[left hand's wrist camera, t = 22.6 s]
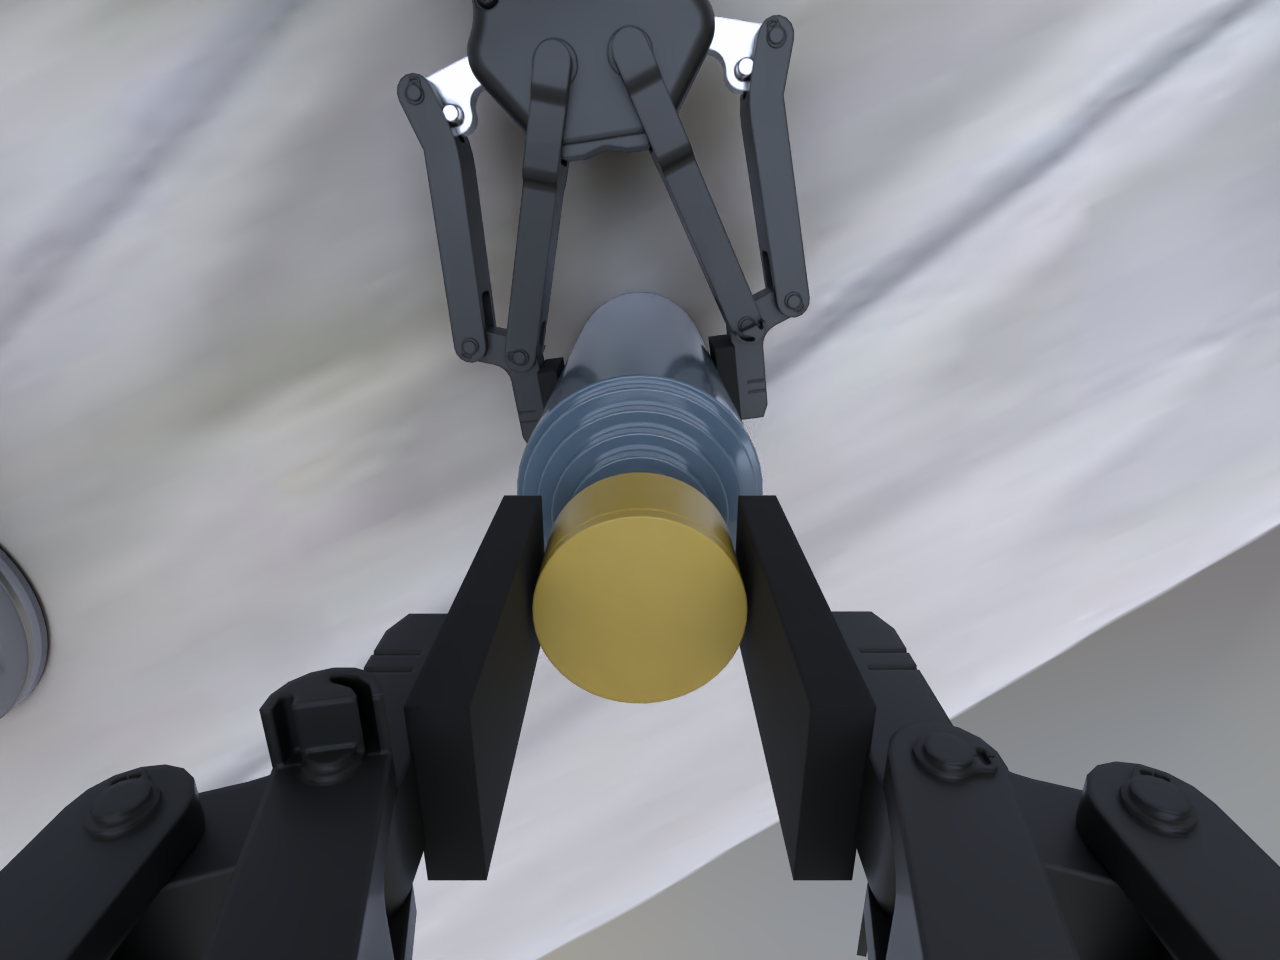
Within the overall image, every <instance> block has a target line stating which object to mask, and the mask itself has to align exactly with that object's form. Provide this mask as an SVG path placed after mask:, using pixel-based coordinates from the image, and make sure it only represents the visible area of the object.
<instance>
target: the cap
mask: <svg viewBox="0 0 1280 960" xmlns="http://www.w3.org/2000/svg"><path fill="white" fill-rule="evenodd" d="M747 612H748V606H747V595H746V591H745V587H744V583H743V579H742V576H741V572H740V569H739V565H738V561H737V558H736V554H735V551H734V547H733V543H732V540H731V536H730V533H729V530H728V528H727V525H726V523H725V521H724V519H723V517H722V516H721V514H720V512H719V511H718V510H717V509H716V507H715V506H714V505H713V503H712V502H711V501H709V500H708V499H707V498H706V497H705V496H704V495H703V494H702V493H700V492H699V491H698V490H696V489H695V488H693V487H692V486H690V485H688V484H686V483H684V482H682V481H680V480H677V479H675V478H672V477H669V476H665V475H661V474H654V473H640V472H633V473H625V474H619V475H615V476H611V477H608V478H605V479H603V480H600V481H597V482H596V483H594V484H592V485H590V486H588V487H586V488H585V489H584V490H582V491H581V492H579V493H578V494H577V495H576V496H575V497H574V498H572V499H571V500H570V501H569V502H568V503H567V505H566V506H565V507H564V508H563V510H562V511H561V512H560V514H559V516H558V517H557V519H556V521H555V523H554V525H553V527H552V530H551V532H550V536H549V540H548V543H547V547H546V550H545V554H544V558H543V561H542V565H541V568H540V572H539V576H538V579H537V583H536V587H535V591H534V594H533V604H532V614H533V623H534V628H535V632H536V635H537V638H538V640H539V643H540V645H541V647H542V649H543V651H544V653H545V654H546V656H547V657H548V659H549V660H550V661H551V663H552V664H553V665H554V666H555V667H556V668H557V670H558V671H559V672H560V673H561V674H562V675H564V676H565V677H566V678H567V679H569V680H570V681H571V682H572V683H574V684H576V685H577V686H579V687H580V688H582V689H584V690H586V691H588V692H590V693H592V694H594V695H597V696H600V697H603V698H606V699H610V700H614V701H619V702H627V703H653V702H661V701H665V700H670V699H674V698H677V697H680V696H683V695H685V694H688V693H690V692H692V691H694V690H696V689H698V688H700V687H701V686H703V685H704V684H706V683H708V682H709V681H710V680H711V679H713V678H714V677H715V676H716V675H718V674H719V672H720V671H721V670H722V669H723V668H724V667H725V666H726V665H727V664H728V662H729V661H730V660H731V658H732V657H733V656H734V654H735V652H736V650H737V649H738V647H739V645H740V643H741V640H742V637H743V635H744V632H745V627H746V623H747Z"/></svg>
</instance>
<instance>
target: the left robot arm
mask: <svg viewBox="0 0 1280 960" xmlns="http://www.w3.org/2000/svg"><path fill="white" fill-rule="evenodd" d="M544 554H545V550H544V530H543V511H542V496H504V497H503V499H502V501H501V503H500V505H499V507H498V510H497V512H496V514H495V516H494V518H493V520H492V522H491V524H490V526H489V528H488V531H487V533H486V535H485V537H484V539H483V541H482V543H481V545H480V547H479V549H478V551H477V554H476V556H475V558H474V560H473V562H472V564H471V566H470V568H469V570H468V572H467V575H466V577H465V579H464V581H463V583H462V585H461V587H460V589H459V591H458V593H457V595H456V598H455V600H454V602H453V604H452V606H451V608H450V610H449V612H448V614H408V615H407V616H405V617H404V618H403V619H401V620H400V621H399V622H397V623H396V624H395V625H394V626H392V627H391V628H390V629H388V630H387V631H386V632H385V634H384V635H383V637H382V639H381V640H380V642H379V644H378V645H377V647H376V649H375V650H374V655H371V657H370V659H369V660H368V662H367V664H366V665H365V667H364V670H361V669H358V668H330V669H325V670H321V671H316V672H311V673H309V674H306V675H304V676H302V677H299V678H297V679H295V680H292V681H290V682H288V683H286V684H285V685H284V686H282V687H281V688H279V689H278V690H277V691H275V692H274V693H272V694H271V695H270V696H269V697H268V699H267V700H266V701H265V703H264V704H263V705H262V707H261V708H260V709H259V710H260V714H261V719H262V723H263V728H264V732H265V736H266V741H267V745H268V749H269V754H270V758H271V762H272V767H273V769H272V772H271V774H270V775H269V776H266V777H262V778H259V779H256V780H252V781H249V782H245V783H241V784H236V785H232V786H228V787H223V788H219V789H215V790H210V791H206V792H202V793H198V791H197V788H196V784H195V780H194V778H193V777H192V776H191V775H190V774H189V773H188V772H187V771H186V770H185V769H184V768H179V767H175V766H170V765H156V766H147V767H140V768H137V769H134V770H130V771H127V772H124V773H121V774H118V775H115V776H113V777H111V778H109V779H107V780H105V781H103V782H101V783H99V784H97V785H95V786H94V787H92V788H90V789H88V790H87V791H85V792H84V793H83V794H81V795H80V796H79V797H78V798H76V799H75V800H74V801H73V802H71V803H70V804H69V805H67V806H66V807H65V808H64V809H63V810H62V811H61V812H60V813H59V814H58V815H57V816H56V817H55V818H54V819H53V820H52V821H51V822H50V823H49V824H48V825H47V826H46V827H45V828H44V829H43V830H42V831H41V832H40V833H39V834H38V835H37V836H36V837H35V838H34V839H33V840H32V841H31V842H30V843H29V844H28V845H27V846H26V847H25V848H24V849H23V850H22V851H21V852H20V853H18V854H17V855H16V856H15V857H14V858H13V859H12V860H11V861H10V862H9V863H8V864H7V865H6V866H5V867H4V868H3V869H2V870H1V871H0V960H412V953H413V943H414V933H415V922H416V904H415V897H414V891H413V881H414V878H415V875H416V872H417V869H418V866H419V863H420V860H421V857H422V854H423V851H424V855H425V863H426V870H427V877H428V880H487V876H488V872H489V867H490V863H491V859H492V854H493V850H494V845H495V841H496V837H497V832H498V828H499V824H500V819H501V815H502V811H503V806H504V802H505V797H506V793H507V789H508V784H509V780H510V776H511V771H512V767H513V763H514V758H515V754H516V749H517V745H518V741H519V736H520V732H521V728H522V723H523V719H524V715H525V710H526V706H527V702H528V697H529V693H530V688H531V684H532V680H533V675H534V671H535V667H536V662H537V658H538V654H539V649H540V643H539V640H538V638H537V635H536V632H535V628H534V623H533V614H532V604H533V594H534V591H535V587H536V583H537V579H538V576H539V572H540V568H541V565H542V561H543V558H544ZM735 554H736V558H737V561H738V565H739V569H740V572H741V576H742V579H743V583H744V587H745V591H746V595H747V606H748V612H747V623H746V627H745V632H744V635H743V637H742V640H741V643H740V649H741V654H742V658H743V662H744V667H745V671H746V675H747V680H748V684H749V688H750V693H751V697H752V702H753V706H754V710H755V715H756V719H757V723H758V728H759V732H760V736H761V741H762V745H763V749H764V754H765V758H766V763H767V767H768V771H769V776H770V780H771V784H772V789H773V793H774V797H775V802H776V806H777V811H778V815H779V819H780V824H781V828H782V832H783V837H784V841H785V845H786V850H787V854H788V859H789V863H790V867H791V872H792V876H793V880H852V877H853V869H854V863H855V856H856V848H857V850H858V853H859V856H860V859H861V862H862V865H863V868H864V871H865V874H866V877H867V880H868V884H867V891H866V897H865V904H864V910H863V917H862V923H861V930H860V936H859V943H858V950H857V955H860V956H865V957H866V954H867V952H868V960H1280V867H1279V866H1278V865H1277V864H1276V863H1275V862H1274V861H1273V860H1272V859H1271V858H1270V857H1269V856H1268V855H1267V854H1266V853H1265V852H1264V851H1263V850H1262V849H1261V848H1260V847H1259V846H1258V845H1257V844H1256V843H1255V842H1254V841H1253V840H1252V839H1251V838H1250V837H1249V836H1248V835H1247V834H1246V833H1245V832H1244V831H1243V830H1242V829H1241V828H1240V827H1239V826H1238V825H1237V824H1236V823H1235V822H1234V821H1233V820H1232V819H1231V818H1229V817H1228V816H1227V815H1226V814H1225V813H1224V812H1223V811H1222V810H1221V809H1220V808H1219V807H1218V806H1217V805H1216V804H1215V803H1214V802H1213V801H1211V800H1210V799H1209V798H1207V797H1206V796H1205V795H1204V794H1202V793H1201V792H1200V791H1199V790H1197V789H1196V788H1195V787H1193V786H1191V785H1190V784H1188V783H1186V782H1184V781H1182V780H1180V779H1178V778H1176V777H1174V776H1172V775H1170V774H1168V773H1166V772H1163V771H1160V770H1157V769H1154V768H1151V767H1147V766H1144V765H1141V764H1134V763H1125V762H1111V763H1106V764H1101V765H1097V766H1096V767H1095V768H1094V769H1093V770H1092V771H1091V772H1090V773H1089V774H1088V775H1087V777H1086V780H1085V784H1084V788H1083V790H1078V789H1074V788H1070V787H1065V786H1061V785H1057V784H1052V783H1048V782H1043V781H1039V780H1035V779H1031V778H1027V777H1024V776H1021V775H1018V774H1014V773H1012V772H1009V770H1008V768H1007V766H1006V765H1005V763H1004V762H1003V760H1002V758H1001V757H1000V755H999V754H998V752H997V751H996V750H994V749H993V748H992V747H991V746H989V745H988V744H987V743H986V742H985V741H983V740H982V739H981V738H979V737H977V736H975V735H973V734H971V733H969V732H967V731H965V730H963V729H961V728H958V727H954V726H953V725H952V723H951V721H950V720H949V718H948V716H947V715H946V713H945V711H944V710H943V708H942V707H941V705H940V703H939V702H938V700H937V698H936V697H935V695H934V693H933V692H932V690H931V688H930V687H929V685H928V684H927V682H926V680H925V679H924V677H923V675H922V674H921V672H920V670H917V665H916V664H915V662H914V660H913V659H912V657H911V656H910V654H909V653H907V651H906V647H905V646H904V644H903V642H902V641H901V639H900V637H899V636H898V634H897V633H896V631H895V629H894V628H892V627H891V626H890V625H888V624H887V623H886V622H884V621H883V620H882V619H880V618H879V617H878V616H876V615H875V614H874V613H872V612H831V610H830V608H829V606H828V604H827V602H826V600H825V598H824V595H823V593H822V591H821V589H820V587H819V585H818V583H817V581H816V579H815V577H814V575H813V572H812V570H811V568H810V566H809V564H808V562H807V560H806V558H805V556H804V554H803V551H802V549H801V547H800V545H799V543H798V541H797V539H796V537H795V535H794V533H793V530H792V528H791V526H790V524H789V522H788V520H787V518H786V516H785V514H784V512H783V510H782V507H781V505H780V503H779V501H778V499H777V497H776V496H738V511H737V531H736V550H735ZM47 646H48V643H47V631H46V626H45V621H44V618H43V614H42V611H41V608H40V606H39V603H38V601H37V599H36V597H35V595H34V593H33V591H32V589H31V587H30V585H29V584H28V582H27V581H26V579H25V578H24V576H23V575H22V573H21V572H20V571H19V569H18V568H17V567H16V565H15V564H14V563H13V562H12V561H11V559H10V558H9V557H8V556H7V555H6V554H5V553H4V552H3V551H2V550H1V549H0V718H2V717H3V716H4V715H5V714H7V713H8V712H9V711H10V710H12V709H13V708H14V707H15V706H17V705H18V704H19V703H20V702H22V701H23V700H24V699H25V698H26V697H27V696H28V695H29V694H30V693H31V692H32V690H33V689H34V687H35V686H36V685H37V683H38V681H39V679H40V677H41V675H42V673H43V670H44V667H45V663H46V658H47Z"/></svg>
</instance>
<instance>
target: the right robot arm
mask: <svg viewBox="0 0 1280 960" xmlns="http://www.w3.org/2000/svg"><path fill="white" fill-rule="evenodd" d="M472 1H473V25H472V30H471V34H470V37H469V41H468V46H467V56H466V57H464V58H462V59H460V60H458V61H456V62H454V63H452V64H451V65H449V66H447V67H445V68H443V69H441V70H439V71H437V72H435V73H433V74H431V75H429V76H427V77H423V76H421V75H420V74H415V73H411V74H407V75H405V76H404V77H403V78H402V79H401V80H400V82H399V84H398V87H397V95H398V98H399V101H400V103H401V105H402V107H403V109H404V111H405V113H406V115H407V117H408V120H409V122H410V124H411V126H412V128H413V130H414V132H415V134H416V136H417V138H418V140H419V142H420V144H421V146H422V148H423V150H424V154H425V161H426V167H427V174H428V180H429V187H430V193H431V200H432V206H433V213H434V219H435V225H436V232H437V238H438V245H439V251H440V258H441V264H442V271H443V277H444V284H445V290H446V297H447V303H448V309H449V316H450V322H451V329H452V335H453V342H454V348H455V351H456V354H457V355H458V356H459V357H460V358H461V359H462V360H464V361H466V362H472V363H473V362H476V361H480V362H484V363H489V364H494V365H497V366H500V367H501V368H503V369H504V370H505V371H506V372H507V373H508V374H509V376H510V378H511V381H512V386H513V391H514V396H515V401H516V406H517V411H518V415H519V420H520V425H521V430H522V435H523V438H524V440H525V441H526V443H528V441H529V439H530V437H531V435H532V433H533V431H534V428H535V426H536V424H537V422H538V420H539V418H540V416H541V414H542V412H543V410H544V408H545V406H546V404H547V402H548V400H549V397H550V395H551V393H552V391H553V389H554V387H555V385H556V383H557V381H558V379H559V377H560V375H561V373H562V371H563V369H564V367H565V365H564V359H563V357H561V358H554V359H547V360H545V361H544V357H543V351H544V349H545V345H544V340H545V332H546V324H547V317H548V309H549V301H550V294H551V286H552V278H553V271H554V263H555V255H556V248H557V240H558V232H559V225H560V217H561V209H562V202H563V194H564V189H565V186H566V180H567V174H568V166H569V162H571V161H577V160H584V159H588V158H591V157H593V156H595V155H597V154H599V153H601V152H603V151H606V150H614V151H621V152H628V153H629V152H636V151H643V150H649V151H650V154H651V156H652V158H653V160H654V163H655V165H656V167H657V169H658V171H659V173H660V175H661V177H662V180H663V182H664V184H665V186H666V189H667V191H668V193H669V195H670V198H671V200H672V202H673V205H674V207H675V209H676V211H677V214H678V216H679V218H680V221H681V223H682V225H683V227H684V230H685V232H686V234H687V237H688V239H689V241H690V243H691V246H692V248H693V250H694V252H695V255H696V257H697V259H698V262H699V264H700V266H701V268H702V271H703V273H704V275H705V278H706V280H707V282H708V284H709V287H710V289H711V291H712V294H713V296H714V298H715V300H716V303H717V305H718V307H719V309H720V312H721V314H722V316H723V319H724V321H725V323H726V329H727V334H726V335H719V336H712V337H709V346H710V356H711V359H712V361H713V363H714V365H715V367H716V369H717V371H718V373H719V375H720V377H721V379H722V381H723V383H724V385H725V387H726V390H727V392H728V394H729V396H730V398H731V400H732V402H733V404H734V406H735V408H736V410H737V412H738V414H739V416H740V418H741V421H742V420H744V419H751V418H759V417H764V413H765V410H766V407H767V392H766V381H765V367H764V354H763V340H764V337H765V335H766V333H767V332H768V331H769V330H770V329H771V328H772V327H773V326H775V325H777V324H779V323H781V322H783V321H784V320H786V319H788V318H790V317H797V316H800V315H802V314H803V313H804V312H805V311H806V310H807V308H808V306H809V299H810V297H809V289H808V282H807V274H806V266H805V258H804V250H803V243H802V235H801V227H800V219H799V212H798V204H797V196H796V188H795V181H794V173H793V165H792V157H791V150H790V142H789V134H788V126H787V119H786V111H785V103H784V90H785V84H786V79H787V73H788V68H789V62H790V57H791V52H792V46H793V41H794V29H793V27H792V24H791V22H790V21H789V20H788V19H787V18H786V17H783V16H781V15H773V16H771V17H769V18H767V19H766V20H765V21H764V22H763V23H762V24H760V23H754V22H748V21H741V20H735V19H729V18H723V17H716V16H714V12H713V9H712V6H711V4H710V2H709V1H708V0H472ZM706 55H711V56H714V57H715V58H716V59H718V61H719V62H720V64H721V66H722V69H723V78H724V83H725V85H726V87H727V88H728V90H730V91H731V92H732V93H735V94H740V95H741V97H740V117H741V127H742V134H743V141H744V147H745V154H746V161H747V167H748V174H749V181H750V188H751V194H752V201H753V208H754V214H755V221H756V228H757V234H758V241H759V248H760V254H761V261H762V268H763V274H764V281H765V289H763V290H761V291H759V292H758V293H756V294H754V295H752V294H751V291H750V289H749V286H748V284H747V282H746V279H745V277H744V274H743V272H742V270H741V267H740V265H739V263H738V260H737V258H736V255H735V253H734V251H733V248H732V246H731V243H730V241H729V239H728V236H727V234H726V232H725V229H724V227H723V224H722V222H721V220H720V217H719V215H718V212H717V210H716V208H715V205H714V203H713V201H712V198H711V196H710V193H709V191H708V189H707V186H706V184H705V182H704V179H703V177H702V174H701V172H700V170H699V167H698V165H697V162H696V160H695V157H694V154H693V151H692V148H691V145H690V142H689V140H688V137H687V135H686V133H685V130H684V128H683V126H682V123H681V121H680V118H679V116H678V112H679V110H680V108H681V106H682V104H683V102H684V99H685V97H686V95H687V93H688V91H689V89H690V87H691V85H692V83H693V81H694V79H695V77H696V75H697V73H698V71H699V69H700V67H701V65H702V63H703V61H704V59H705V57H706ZM484 90H486V91H487V92H488V93H489V94H490V95H491V96H492V97H493V98H494V99H495V100H496V101H497V103H498V104H499V105H500V106H501V107H502V108H503V109H504V110H505V111H506V112H507V113H508V114H509V116H510V117H511V118H512V119H513V120H514V121H515V122H516V123H517V124H518V125H519V126H520V128H521V129H522V130H523V131H524V132H525V133H526V143H525V152H524V161H523V190H522V199H521V208H520V217H519V226H518V235H517V244H516V253H515V262H514V271H513V280H512V289H511V298H510V307H509V316H508V325H507V329H504V328H499V327H496V320H495V313H494V305H493V298H492V290H491V283H490V275H489V268H488V260H487V253H486V245H485V237H484V230H483V222H482V215H481V207H480V200H479V192H478V185H477V177H476V170H475V164H474V158H473V153H472V150H471V147H470V143H469V140H468V138H467V136H469V135H471V134H472V133H473V132H474V131H475V129H476V127H477V124H478V117H477V112H476V101H477V98H478V96H479V95H480V94H481V93H482V92H483V91H484Z"/></svg>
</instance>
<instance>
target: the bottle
mask: <svg viewBox="0 0 1280 960" xmlns="http://www.w3.org/2000/svg"><path fill="white" fill-rule="evenodd" d="M633 472H640V473H654V474H661V475H665V476H669V477H672V478H675V479H677V480H680V481H682V482H684V483H686V484H688V485H690V486H692V487H693V488H695V489H696V490H698V491H699V492H700V493H702V494H703V495H704V496H705V497H706V498H707V499H708V500H709V501H711V502H712V503H713V505H714V506H715V507H716V509H717V510H718V511H719V512H720V514H721V516H722V517H723V519H724V521H725V523H726V525H727V528H728V530H729V533H730V536H731V540H732V543H733V547H734V551H735V550H736V531H737V511H738V496H762V495H763V492H762V474H761V468H760V463H759V460H758V456H757V453H756V450H755V448H754V446H753V444H752V441H751V439H750V437H749V435H748V433H747V431H746V429H745V427H744V425H743V423H742V421H741V418H740V416H739V414H738V412H737V410H736V408H735V406H734V404H733V402H732V400H731V398H730V396H729V394H728V392H727V390H726V387H725V385H724V383H723V381H722V379H721V377H720V375H719V373H718V371H717V369H716V367H715V365H714V363H713V361H712V359H711V356H710V354H709V352H708V350H707V348H706V346H705V344H704V342H703V340H702V338H701V336H700V334H699V332H698V330H697V328H696V325H695V324H694V322H693V321H692V319H691V318H690V317H689V315H688V314H687V313H686V312H685V311H684V310H683V309H682V308H681V307H680V306H678V305H677V304H675V303H674V302H673V301H671V300H669V299H667V298H665V297H662V296H659V295H656V294H651V293H640V292H639V293H629V294H624V295H621V296H618V297H615V298H613V299H611V300H609V301H607V302H606V303H604V304H603V305H602V306H600V307H599V308H598V309H597V310H596V311H595V312H594V313H593V314H592V315H591V316H590V318H589V319H588V321H587V322H586V324H585V325H584V327H583V329H582V331H581V334H580V336H579V338H578V340H577V342H576V344H575V346H574V348H573V350H572V352H571V354H570V356H569V358H568V360H567V362H566V364H565V367H564V369H563V371H562V373H561V375H560V377H559V379H558V381H557V383H556V385H555V387H554V389H553V391H552V393H551V395H550V397H549V400H548V402H547V404H546V406H545V408H544V410H543V412H542V414H541V416H540V418H539V420H538V422H537V424H536V426H535V428H534V431H533V433H532V435H531V437H530V439H529V441H528V443H527V446H526V448H525V450H524V453H523V456H522V459H521V463H520V467H519V474H518V481H517V496H542V511H543V530H544V550H546V547H547V543H548V540H549V536H550V532H551V530H552V527H553V525H554V523H555V521H556V519H557V517H558V516H559V514H560V512H561V511H562V510H563V508H564V507H565V506H566V505H567V503H568V502H569V501H570V500H571V499H572V498H574V497H575V496H576V495H577V494H578V493H579V492H581V491H582V490H584V489H585V488H586V487H588V486H590V485H592V484H594V483H596V482H597V481H600V480H603V479H605V478H608V477H611V476H615V475H619V474H625V473H633Z"/></svg>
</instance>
